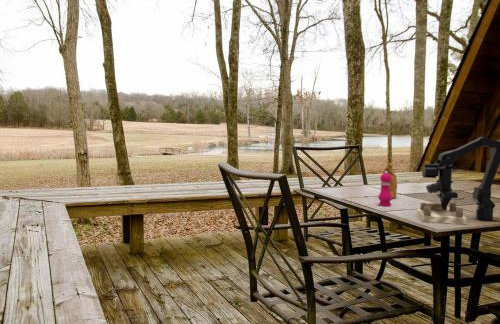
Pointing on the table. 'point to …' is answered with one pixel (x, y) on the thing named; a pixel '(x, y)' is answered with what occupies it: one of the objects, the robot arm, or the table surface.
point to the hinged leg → (432, 206)
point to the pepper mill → (385, 190)
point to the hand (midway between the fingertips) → (443, 209)
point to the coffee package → (393, 180)
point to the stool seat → (442, 215)
